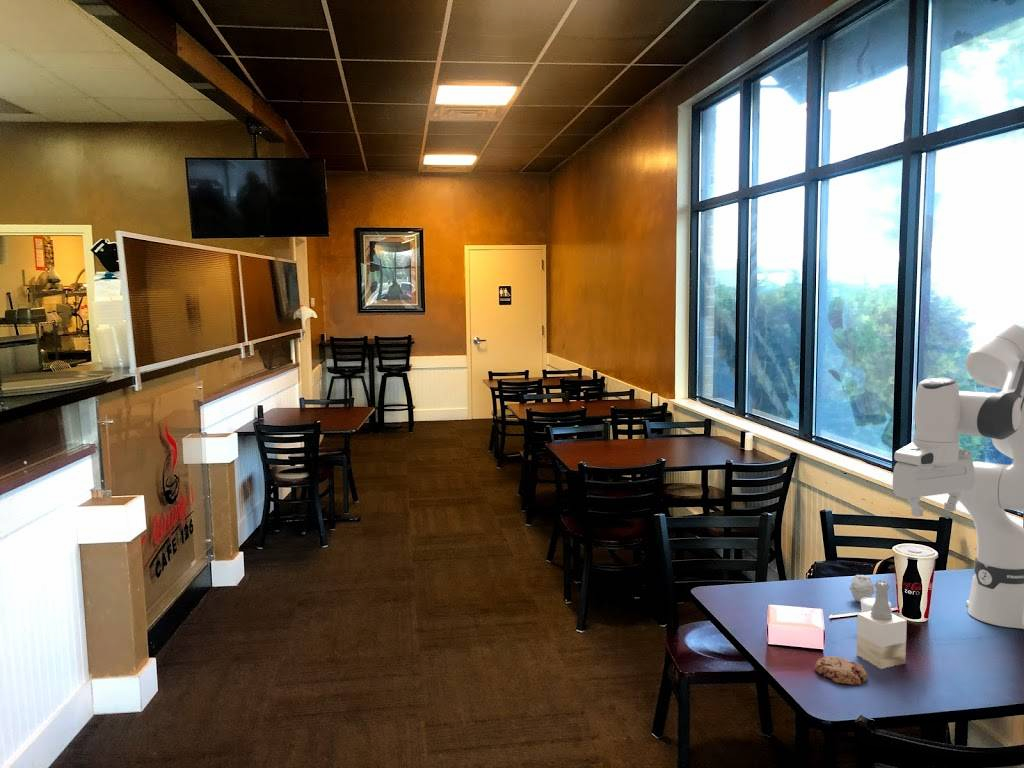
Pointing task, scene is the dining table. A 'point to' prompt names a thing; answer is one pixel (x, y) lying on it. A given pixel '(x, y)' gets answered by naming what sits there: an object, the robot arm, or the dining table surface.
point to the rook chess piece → (881, 602)
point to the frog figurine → (861, 587)
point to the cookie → (841, 670)
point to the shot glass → (868, 603)
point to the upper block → (881, 629)
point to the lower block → (881, 653)
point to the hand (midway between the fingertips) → (933, 513)
